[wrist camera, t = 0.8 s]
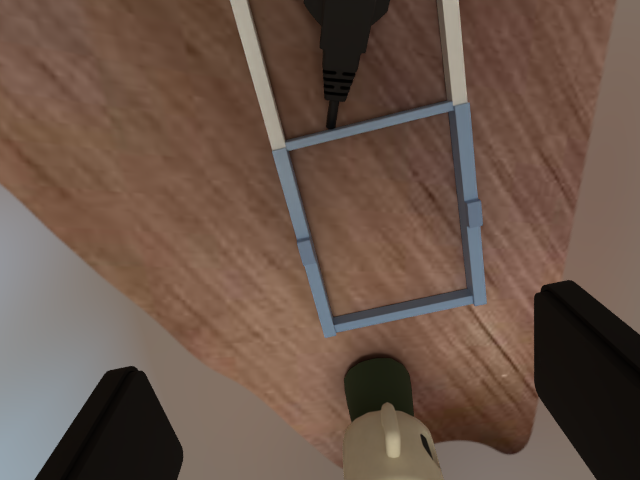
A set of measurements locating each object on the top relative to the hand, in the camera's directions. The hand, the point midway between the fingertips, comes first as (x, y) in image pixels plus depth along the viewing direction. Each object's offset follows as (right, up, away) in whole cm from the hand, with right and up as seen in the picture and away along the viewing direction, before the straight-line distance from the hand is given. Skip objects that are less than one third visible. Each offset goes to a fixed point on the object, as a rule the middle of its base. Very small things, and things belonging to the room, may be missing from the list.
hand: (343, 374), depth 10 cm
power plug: (+1, +17, +18) cm, 25 cm away
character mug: (+5, -10, +29) cm, 31 cm away
